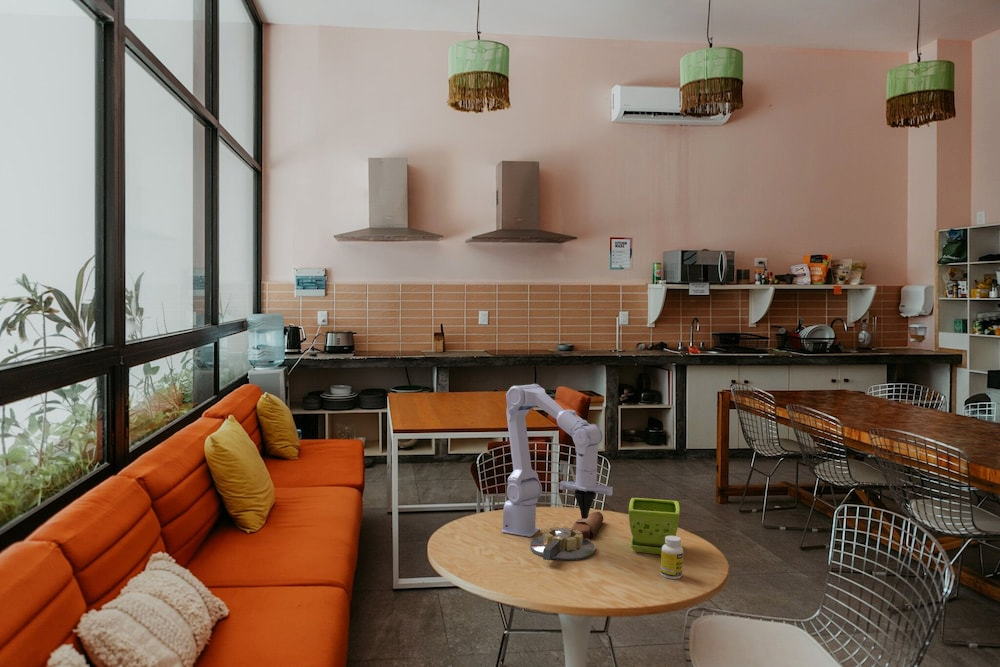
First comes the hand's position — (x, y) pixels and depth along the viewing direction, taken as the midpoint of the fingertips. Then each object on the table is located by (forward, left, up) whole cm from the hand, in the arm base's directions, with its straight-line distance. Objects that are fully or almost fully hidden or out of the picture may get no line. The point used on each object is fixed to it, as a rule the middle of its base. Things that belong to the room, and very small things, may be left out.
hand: (584, 517), depth 200 cm
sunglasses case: (-5, +20, -10) cm, 23 cm away
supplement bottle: (+25, -6, -10) cm, 28 cm away
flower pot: (+17, +12, -10) cm, 23 cm away
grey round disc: (-6, 0, -10) cm, 11 cm away
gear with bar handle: (-6, -5, -8) cm, 11 cm away
